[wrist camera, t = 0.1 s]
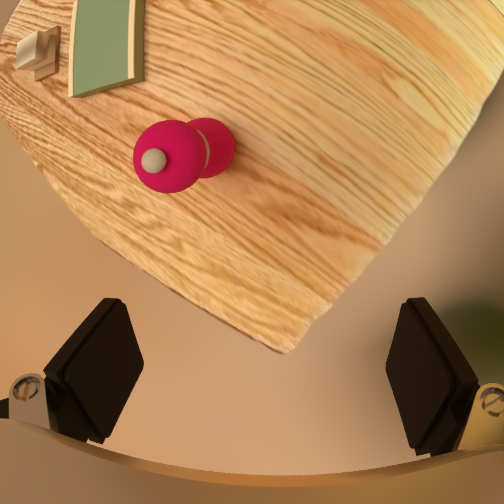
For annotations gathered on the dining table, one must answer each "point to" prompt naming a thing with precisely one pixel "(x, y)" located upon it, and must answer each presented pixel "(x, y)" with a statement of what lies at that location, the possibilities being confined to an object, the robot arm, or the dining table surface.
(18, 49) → the butter dish
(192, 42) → the dining table surface
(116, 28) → the dock
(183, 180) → the pepper mill
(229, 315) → the dining table surface
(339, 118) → the dining table surface
